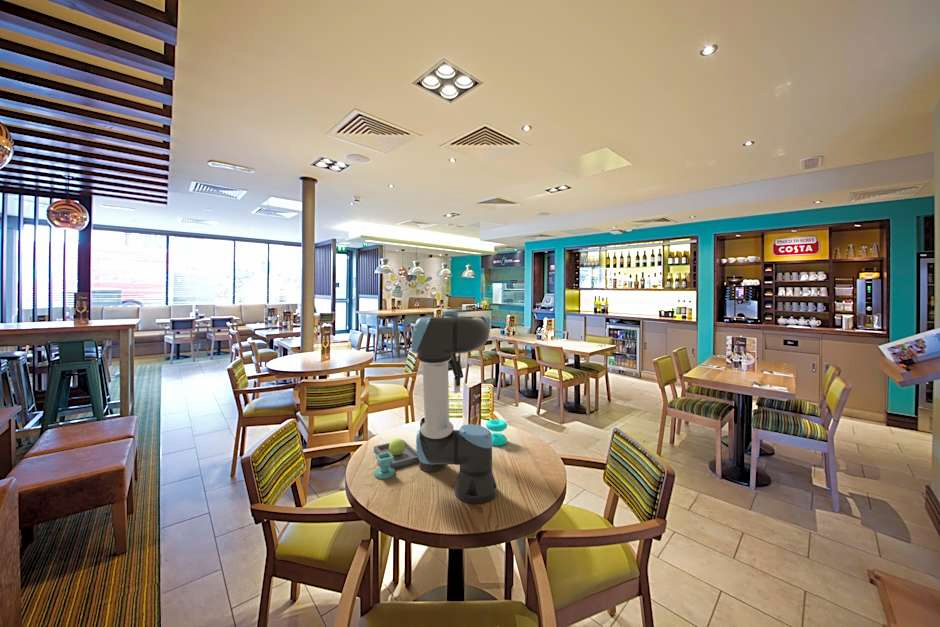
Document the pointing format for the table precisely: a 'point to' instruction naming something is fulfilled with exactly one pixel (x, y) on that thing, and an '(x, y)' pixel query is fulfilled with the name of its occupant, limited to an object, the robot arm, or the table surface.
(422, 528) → the table surface
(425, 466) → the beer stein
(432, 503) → the table surface
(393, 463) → the tray
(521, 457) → the table surface
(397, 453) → the ball
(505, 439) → the donuts
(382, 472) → the goblet
